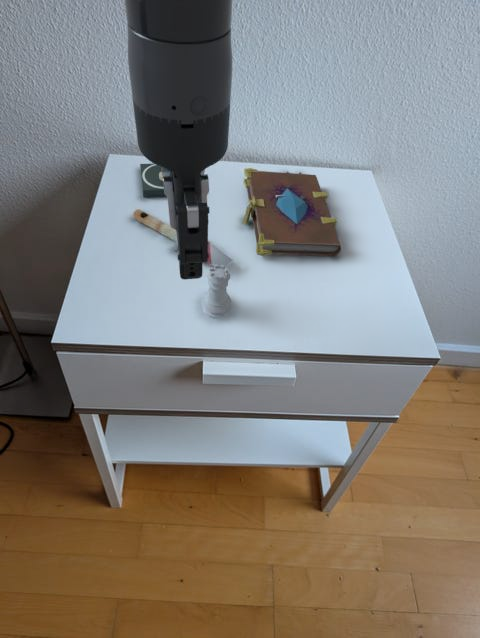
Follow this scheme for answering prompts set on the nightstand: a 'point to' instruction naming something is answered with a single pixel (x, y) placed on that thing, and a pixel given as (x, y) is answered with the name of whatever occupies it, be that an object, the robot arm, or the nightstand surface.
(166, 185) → the robot arm
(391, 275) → the nightstand surface
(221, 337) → the nightstand surface
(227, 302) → the rook chess piece
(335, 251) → the book
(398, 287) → the nightstand surface
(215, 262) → the grey trowel
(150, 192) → the green square board
